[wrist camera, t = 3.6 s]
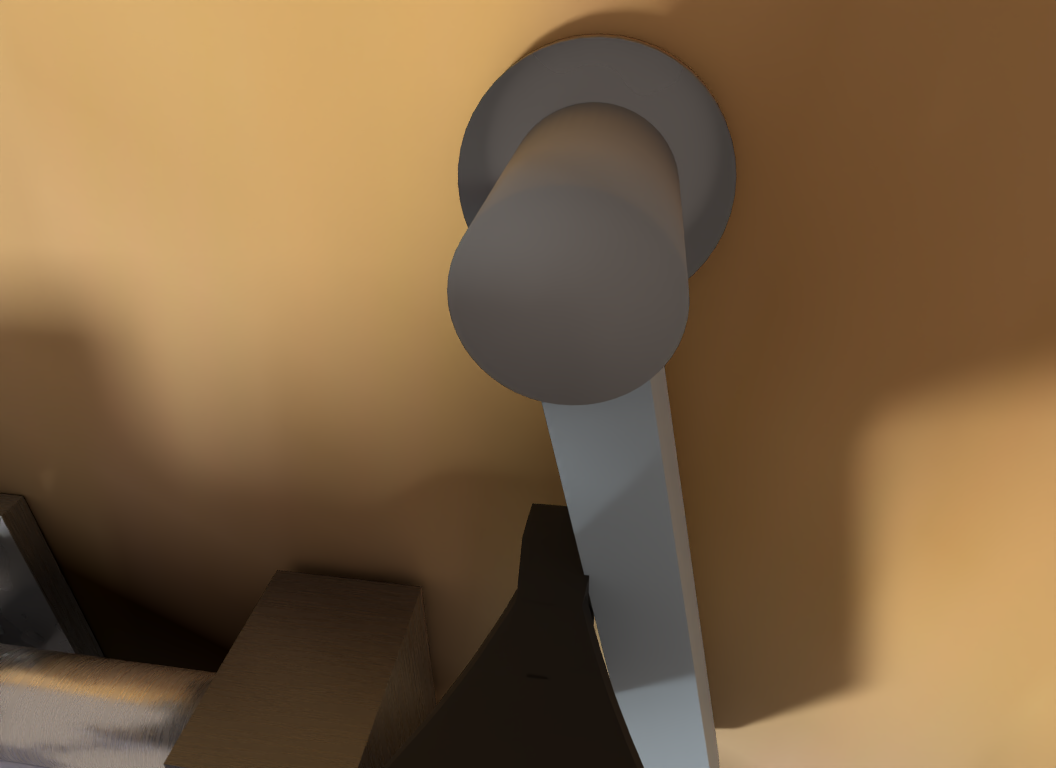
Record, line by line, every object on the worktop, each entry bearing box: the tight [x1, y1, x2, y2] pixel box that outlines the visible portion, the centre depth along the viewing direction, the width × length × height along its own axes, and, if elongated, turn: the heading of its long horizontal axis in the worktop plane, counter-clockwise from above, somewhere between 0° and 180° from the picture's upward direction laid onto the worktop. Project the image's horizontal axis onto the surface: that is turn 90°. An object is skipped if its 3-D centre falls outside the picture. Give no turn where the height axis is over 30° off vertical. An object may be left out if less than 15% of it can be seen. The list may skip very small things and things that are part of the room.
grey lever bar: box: [447, 102, 719, 768], centre depth 11 cm, size 14×2×3 cm, turn 13°
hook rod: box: [0, 570, 436, 768], centre depth 14 cm, size 4×14×4 cm, turn 90°
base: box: [458, 34, 736, 279], centre depth 9 cm, size 4×4×1 cm
